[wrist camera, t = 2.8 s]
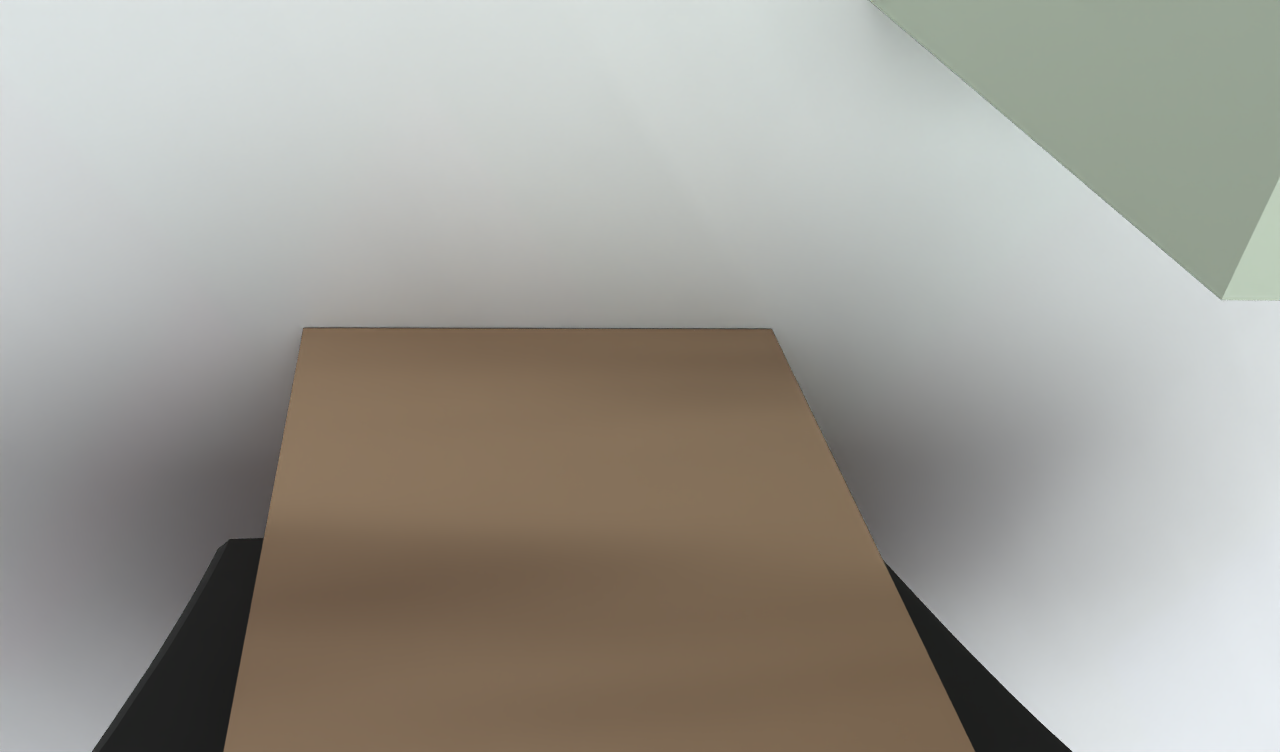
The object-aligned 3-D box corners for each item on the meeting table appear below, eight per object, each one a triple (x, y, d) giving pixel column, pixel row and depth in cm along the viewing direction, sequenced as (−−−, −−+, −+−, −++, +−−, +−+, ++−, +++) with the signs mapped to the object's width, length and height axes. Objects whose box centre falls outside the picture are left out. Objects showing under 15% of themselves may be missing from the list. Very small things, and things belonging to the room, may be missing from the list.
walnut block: (710, 636, 13) (871, 1226, 8) (333, 655, 12) (268, 1327, 7) (771, 329, 11) (1056, 920, 6) (302, 328, 10) (170, 1022, 5)
